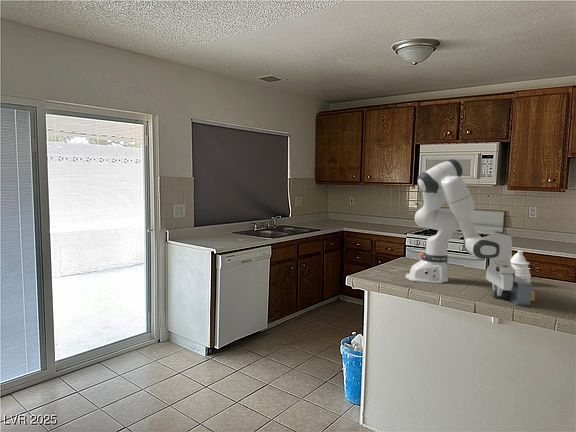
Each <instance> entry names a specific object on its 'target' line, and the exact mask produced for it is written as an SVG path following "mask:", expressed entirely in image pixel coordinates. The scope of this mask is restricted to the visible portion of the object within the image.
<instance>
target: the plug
mask: <svg viewBox="0 0 576 432" xmlns="http://www.w3.org/2000/svg"><path fill="white" fill-rule="evenodd" d="M496 292H497V291H493V290H491V298H493V299H504V300H509V297H510V292H508V291H502V295H501V296H498V295H496ZM535 297H536V292H535V291H534V290H532V292H531V302H535V299H536V298H535Z"/></svg>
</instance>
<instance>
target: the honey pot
mask: <svg viewBox="0 0 576 432" xmlns="http://www.w3.org/2000/svg"><path fill="white" fill-rule="evenodd" d="M523 254H524V250H517V253H515V254H514V255H513V256H512V258H511V263H510V264H511V265H512V267H513V268H514V270H515V275H516V276H518V277H519V278H521V279H523V280H525V281H527V282H529V283H531V276H532V275H531V272H530V268H529V265H530V262H529V261H527V260H526V257H525V256H524V255H523Z"/></svg>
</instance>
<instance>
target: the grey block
mask: <svg viewBox="0 0 576 432" xmlns="http://www.w3.org/2000/svg"><path fill="white" fill-rule="evenodd" d="M503 291H508V292H510V297H509V299H508V300H510V302H511V303H513V304H514V305H515V306H527V307H528V306H529V307H530V306H531V302H532V301H531V292H532V291H533V283H531V282H530V283H529V282H527V281H525V280H523V279H521V278H519V277H518V276H516V275H515V273H514V274H513V286H512V289H511V290H503Z"/></svg>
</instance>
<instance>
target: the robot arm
mask: <svg viewBox="0 0 576 432" xmlns="http://www.w3.org/2000/svg"><path fill="white" fill-rule="evenodd" d="M462 175H463V167H462V165H461V163H460V162H459V161H458V160H456V159H454V158H451V159H447V160H445V161H443V162H440V163H438V164H436V165H434V166H433V167H431V168H428V170H426V171H423V172H422V173H420V174H418V176H417V181H416V182H417V185H418V188H419V189H420V190H421V193H422V197H423V205H422V207H420V209H418V210H417V211H416V212H415V215H414V222H415V224H416V225H417V226H418V227H421V228H425V229H432V230H437V233H436V234H433V235H430V236H429V237H428V238H427V239H426V241H425V242H426V243H425V244H426V246H425V253H424V252H420V253H419V257H421V259H420V260H419V261H418V262H416V263H414V264H412V265H411V267H410V271H409V272H407V273H406V274H405V278H406V279H408V280H409V281H413V282H420V283H430V284H431V283H432V284H443V283H446V282H448V281H449V277H448V270H447V265H448V261H449V260H448V257H449V256H448V247H449V241H450V239H451V238H452V236H453V234H454V233H455V232H457V231H458V230H460V232H461V234H462V237H463V238H462V239H463V249H464V251H465V252H466V253H467V254H469V255H471V256H473V257H476V258H477V259H482V260H485V259H486V260H487V259H489V263H488V264H489V265H488V266H487V268H486V274H485V278H486V281H488V282H490V283H491V284H492V285H491V286H492V289H493V290H492V291H497V292H496V295H498V296H501V295H502V291H503V290H511V289H512V286H513V274H514V273H515V270H514V268H513V267H512V265H511V264H510V263H511V259H510V254H511V251H512V249H513V242H512V236H511V235H510V234H509V233H506V232H503V231H493V232H492V233H490V234H488V235H486V236H481V235H480V234H479V233H478V232H477V230H476V228H475V225H474V222H473V219H472V213H473V212H474V210H475V201H474V199H473V196H472V194H471V191H470V190H469V188H468V186H467V184H466V183H465V181H464V180H463V179H462V178H461V177H462ZM445 204H447V205H448V207H449V209H441V208H442V207H443V206H444V205H445Z"/></svg>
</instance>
